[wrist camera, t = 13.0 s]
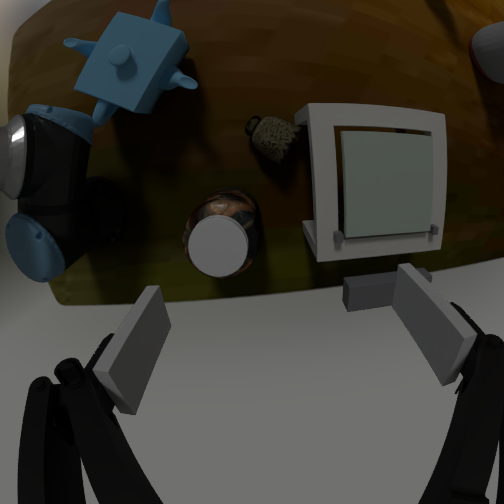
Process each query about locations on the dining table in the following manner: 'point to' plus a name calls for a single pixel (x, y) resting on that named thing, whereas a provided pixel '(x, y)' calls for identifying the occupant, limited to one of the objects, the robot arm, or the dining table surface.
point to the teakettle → (132, 63)
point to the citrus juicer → (489, 51)
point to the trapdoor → (384, 201)
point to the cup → (272, 136)
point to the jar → (223, 233)
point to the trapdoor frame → (325, 179)
